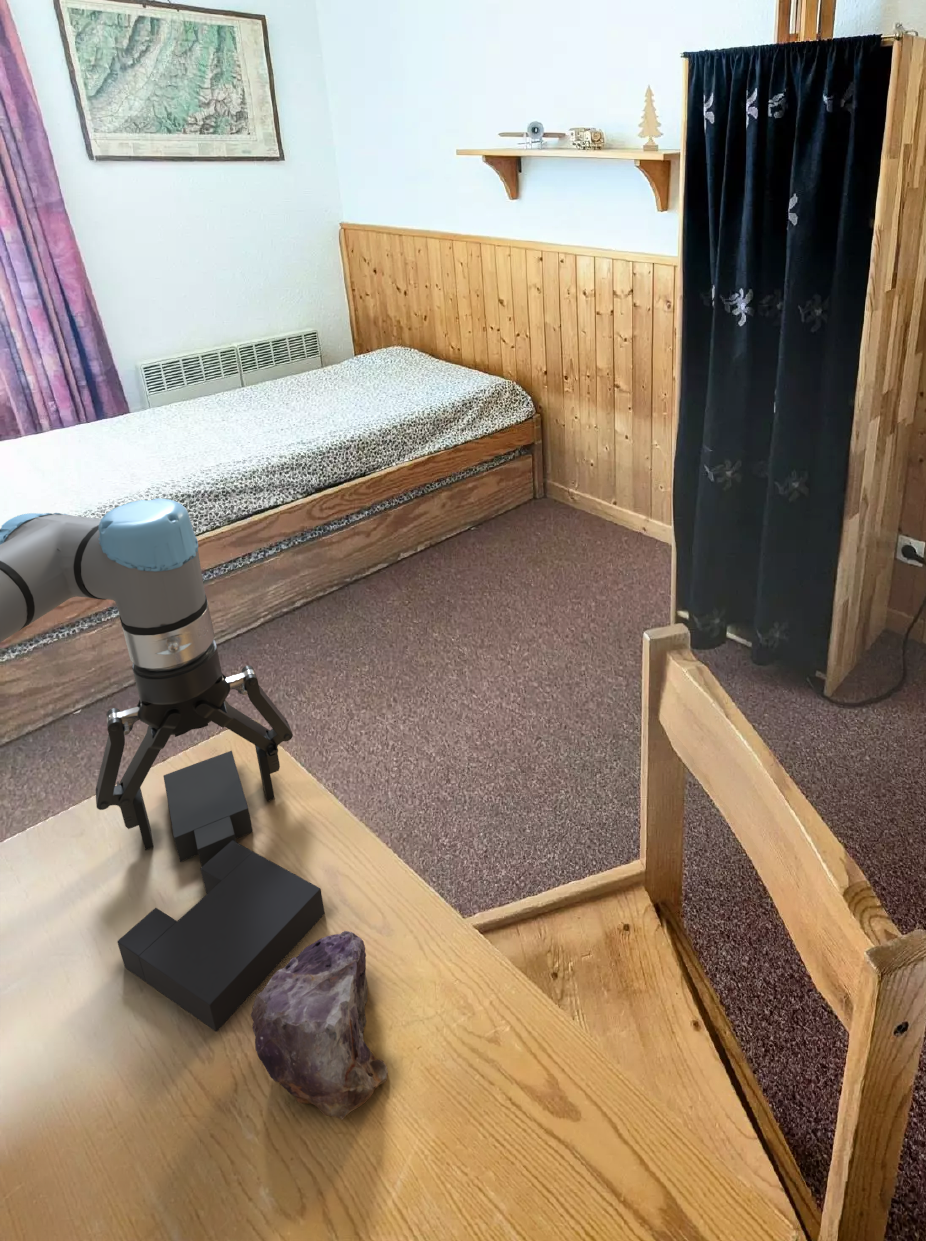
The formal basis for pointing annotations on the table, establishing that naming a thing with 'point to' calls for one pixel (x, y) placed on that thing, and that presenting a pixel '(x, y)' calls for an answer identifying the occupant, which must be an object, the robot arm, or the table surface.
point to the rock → (319, 1027)
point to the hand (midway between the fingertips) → (211, 818)
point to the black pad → (207, 807)
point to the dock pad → (224, 935)
